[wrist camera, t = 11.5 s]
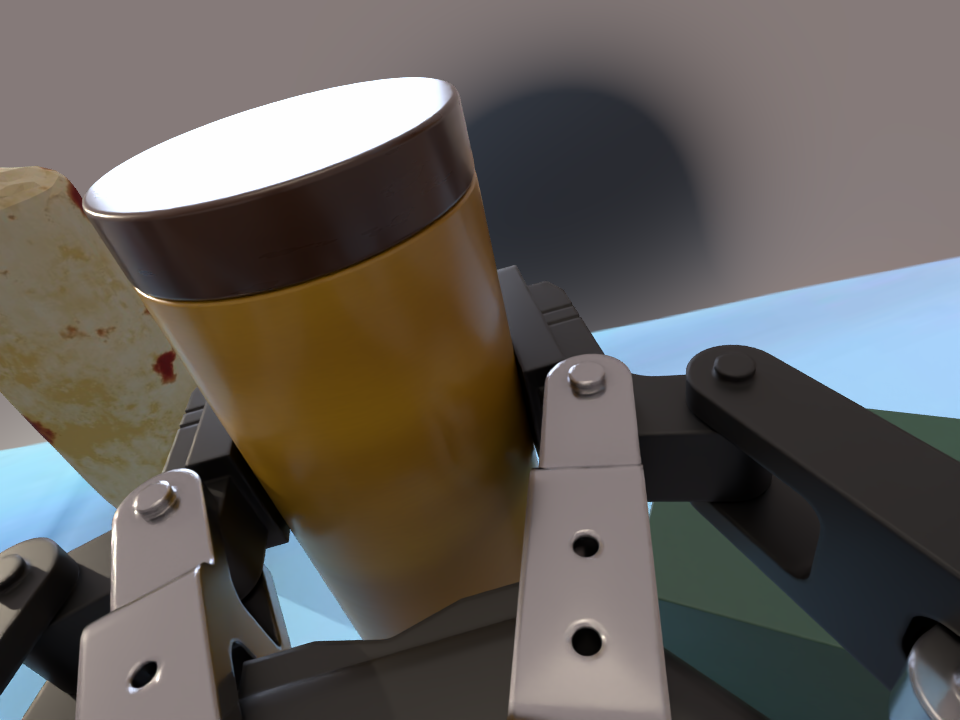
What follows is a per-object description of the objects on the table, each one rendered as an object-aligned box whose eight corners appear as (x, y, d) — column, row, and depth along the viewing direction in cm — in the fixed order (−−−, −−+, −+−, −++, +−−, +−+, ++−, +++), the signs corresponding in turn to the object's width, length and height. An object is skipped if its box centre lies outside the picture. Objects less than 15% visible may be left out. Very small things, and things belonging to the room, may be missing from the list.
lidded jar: (524, 752, 11) (300, 212, 4) (336, 669, 13) (-5, 217, 7) (591, 549, 14) (515, 59, 8) (430, 509, 16) (264, 95, 10)
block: (972, 788, 17) (1045, 704, 14) (638, 676, 22) (629, 591, 18) (930, 522, 24) (972, 419, 21) (681, 477, 29) (681, 387, 25)
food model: (276, 441, 38) (90, 130, 26) (240, 526, 32) (-14, 184, 21) (142, 461, 39) (-93, 175, 27) (87, 546, 34) (-235, 236, 22)
